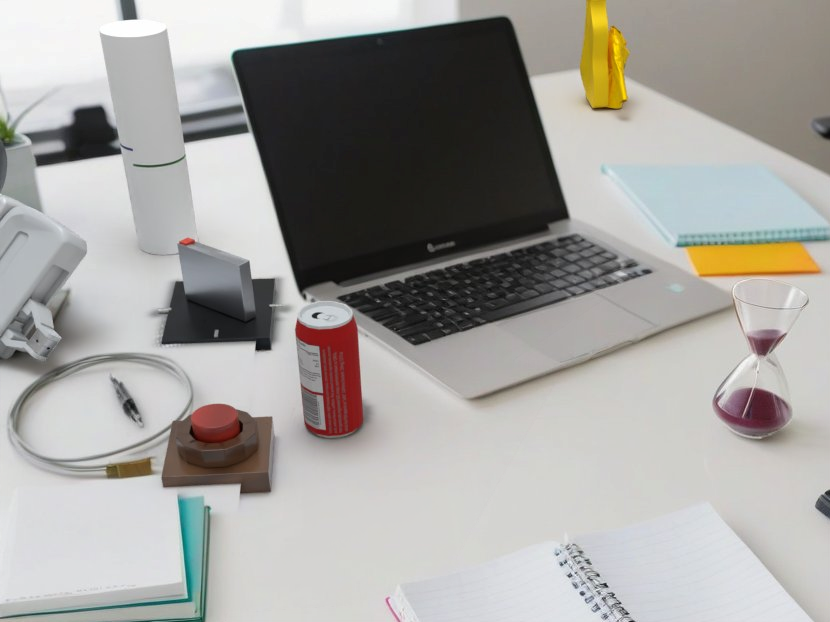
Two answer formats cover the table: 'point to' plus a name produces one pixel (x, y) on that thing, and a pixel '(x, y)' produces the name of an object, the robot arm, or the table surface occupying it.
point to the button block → (222, 456)
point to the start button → (215, 423)
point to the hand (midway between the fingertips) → (48, 348)
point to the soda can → (329, 368)
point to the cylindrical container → (149, 133)
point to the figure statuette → (603, 59)
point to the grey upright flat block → (217, 279)
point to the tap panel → (220, 319)
